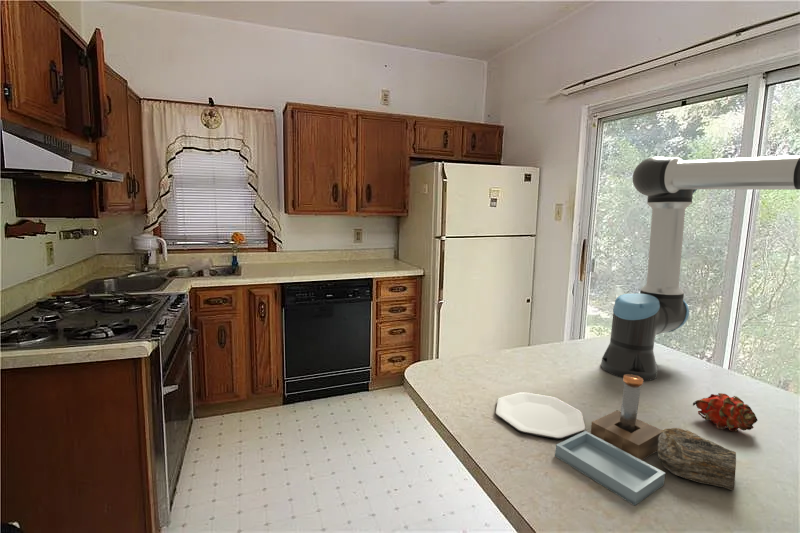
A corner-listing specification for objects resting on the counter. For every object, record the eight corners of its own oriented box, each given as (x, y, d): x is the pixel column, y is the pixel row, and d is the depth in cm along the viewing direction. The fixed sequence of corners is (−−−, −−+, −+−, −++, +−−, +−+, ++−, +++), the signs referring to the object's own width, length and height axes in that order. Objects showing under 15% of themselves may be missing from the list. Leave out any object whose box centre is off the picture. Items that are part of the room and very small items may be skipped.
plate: (539, 451, 86) (539, 444, 86) (479, 407, 104) (480, 402, 103) (602, 429, 95) (602, 423, 95) (537, 392, 113) (538, 387, 112)
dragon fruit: (758, 447, 92) (693, 431, 101) (762, 415, 96) (700, 402, 105) (753, 424, 88) (686, 410, 97) (758, 392, 93) (694, 381, 102)
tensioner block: (589, 438, 91) (591, 421, 90) (615, 426, 96) (617, 410, 95) (636, 463, 82) (638, 445, 82) (661, 448, 88) (663, 430, 87)
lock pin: (612, 441, 90) (620, 376, 87) (621, 437, 92) (629, 372, 89) (628, 450, 87) (637, 383, 84) (637, 445, 89) (646, 379, 86)
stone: (642, 453, 80) (664, 409, 83) (649, 468, 87) (669, 427, 89) (726, 499, 70) (749, 447, 73) (727, 512, 77) (748, 464, 79)
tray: (554, 456, 84) (555, 444, 84) (584, 441, 89) (585, 430, 89) (634, 505, 71) (636, 492, 70) (663, 485, 76) (665, 472, 76)
